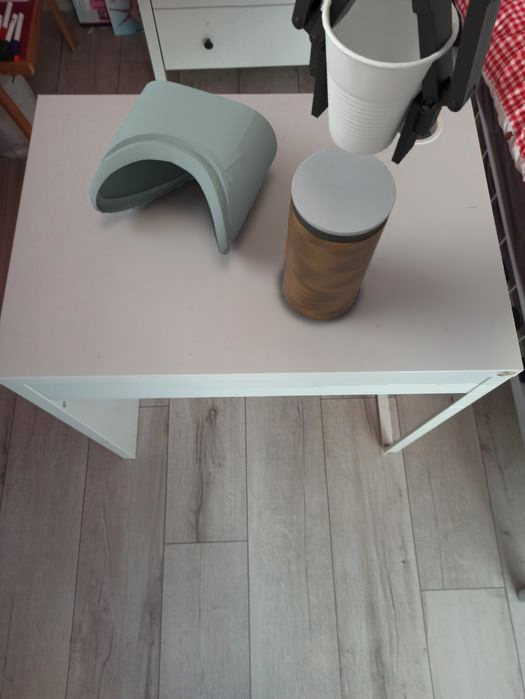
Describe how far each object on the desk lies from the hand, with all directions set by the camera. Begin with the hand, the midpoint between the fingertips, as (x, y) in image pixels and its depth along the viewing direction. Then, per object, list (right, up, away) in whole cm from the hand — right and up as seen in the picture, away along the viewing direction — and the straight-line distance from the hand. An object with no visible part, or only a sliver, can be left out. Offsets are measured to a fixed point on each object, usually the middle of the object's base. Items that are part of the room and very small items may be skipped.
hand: (361, 129), depth 45 cm
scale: (-1, -4, +8) cm, 9 cm away
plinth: (-1, -11, +27) cm, 29 cm away
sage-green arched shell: (-21, +3, +32) cm, 38 cm away
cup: (0, 0, 0) cm, 0 cm away
